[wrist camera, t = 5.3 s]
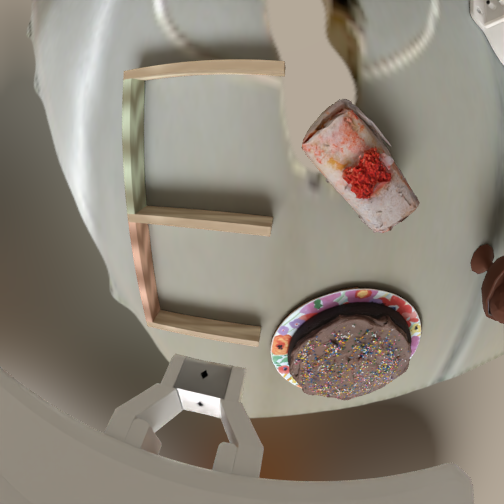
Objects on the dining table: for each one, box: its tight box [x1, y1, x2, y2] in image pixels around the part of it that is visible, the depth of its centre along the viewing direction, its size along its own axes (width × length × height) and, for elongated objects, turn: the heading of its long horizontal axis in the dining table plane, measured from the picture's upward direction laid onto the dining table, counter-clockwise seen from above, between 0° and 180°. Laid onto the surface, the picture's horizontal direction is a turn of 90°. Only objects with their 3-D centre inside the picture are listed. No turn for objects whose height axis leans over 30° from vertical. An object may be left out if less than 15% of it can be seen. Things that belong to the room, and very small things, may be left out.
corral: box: [122, 59, 285, 347], centre depth 35 cm, size 40×19×4 cm, turn 177°
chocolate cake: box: [270, 287, 422, 400], centre depth 42 cm, size 28×28×7 cm
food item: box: [302, 99, 419, 233], centre depth 26 cm, size 14×8×10 cm, turn 47°
